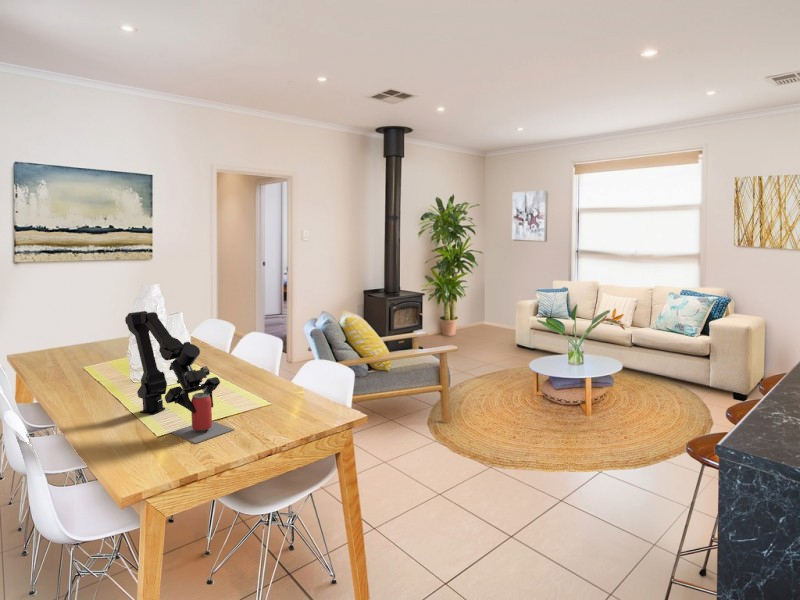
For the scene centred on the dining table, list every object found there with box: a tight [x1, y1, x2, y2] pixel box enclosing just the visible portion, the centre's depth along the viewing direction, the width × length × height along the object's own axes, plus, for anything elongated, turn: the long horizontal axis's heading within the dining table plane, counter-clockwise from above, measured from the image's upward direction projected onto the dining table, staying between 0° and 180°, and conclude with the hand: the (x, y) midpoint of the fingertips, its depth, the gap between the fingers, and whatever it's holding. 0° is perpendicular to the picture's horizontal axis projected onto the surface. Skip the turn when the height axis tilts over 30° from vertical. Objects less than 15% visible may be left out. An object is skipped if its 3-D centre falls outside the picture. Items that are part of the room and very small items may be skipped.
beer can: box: [190, 392, 213, 431], centre depth 180 cm, size 7×7×12 cm
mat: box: [170, 420, 235, 445], centre depth 181 cm, size 15×15×1 cm
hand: (203, 409), depth 179 cm, fingers closed on beer can, 6 cm apart
